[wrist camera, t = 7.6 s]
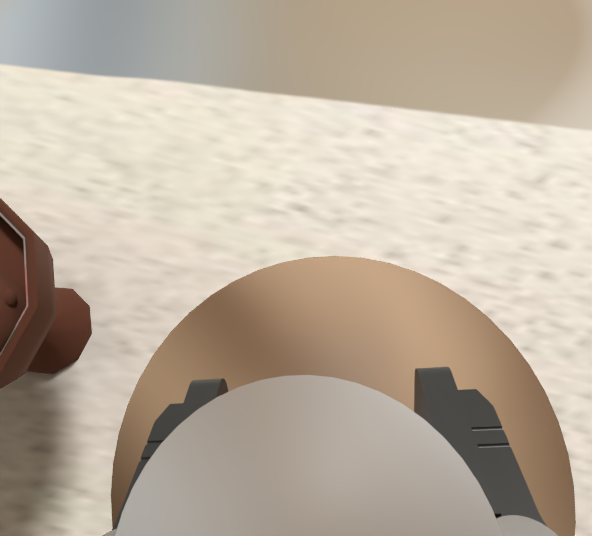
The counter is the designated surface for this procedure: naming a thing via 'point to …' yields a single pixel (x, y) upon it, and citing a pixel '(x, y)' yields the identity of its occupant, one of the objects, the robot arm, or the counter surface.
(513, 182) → the counter surface
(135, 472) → the robot arm
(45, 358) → the ice cream bowl
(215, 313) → the lid
